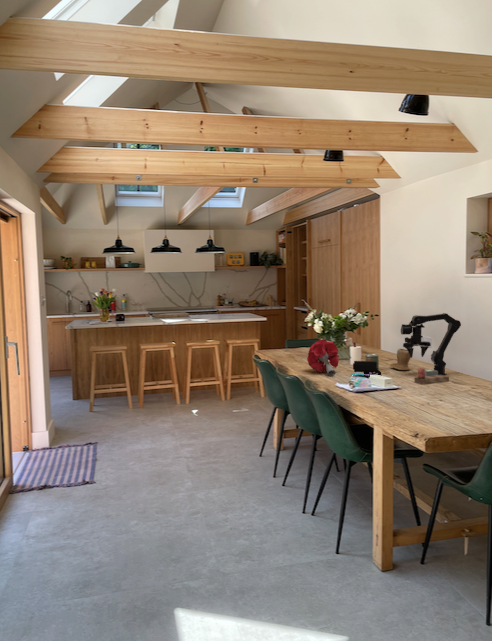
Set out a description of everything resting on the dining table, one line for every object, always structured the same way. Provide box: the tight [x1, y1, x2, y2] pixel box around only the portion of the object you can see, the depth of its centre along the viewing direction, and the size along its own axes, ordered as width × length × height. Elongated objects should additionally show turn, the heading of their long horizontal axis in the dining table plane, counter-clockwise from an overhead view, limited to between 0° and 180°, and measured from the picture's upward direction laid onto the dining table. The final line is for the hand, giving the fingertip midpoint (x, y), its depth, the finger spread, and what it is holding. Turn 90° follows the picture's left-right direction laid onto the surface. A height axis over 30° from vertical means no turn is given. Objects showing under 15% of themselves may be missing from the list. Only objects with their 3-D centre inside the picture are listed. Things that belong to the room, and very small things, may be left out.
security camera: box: [352, 360, 382, 376], centre depth 342 cm, size 7×18×10 cm, turn 78°
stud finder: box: [425, 369, 438, 376], centre depth 331 cm, size 8×4×5 cm, turn 99°
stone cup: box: [389, 348, 411, 371], centre depth 363 cm, size 15×12×15 cm
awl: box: [417, 367, 426, 379], centre depth 317 cm, size 4×4×9 cm
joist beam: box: [413, 375, 450, 385], centre depth 320 cm, size 21×7×3 cm, turn 111°
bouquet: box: [306, 339, 340, 377], centre depth 356 cm, size 22×24×30 cm
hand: (416, 357), depth 342 cm, fingers open, 9 cm apart
